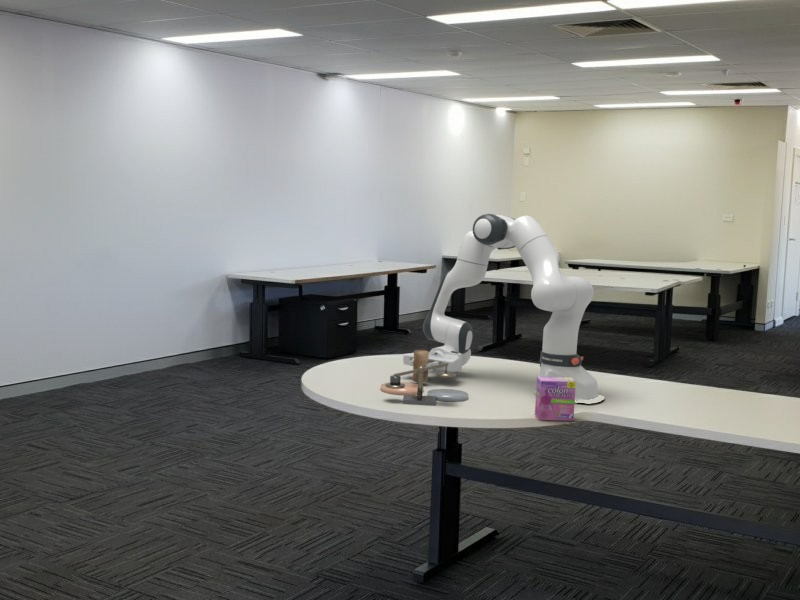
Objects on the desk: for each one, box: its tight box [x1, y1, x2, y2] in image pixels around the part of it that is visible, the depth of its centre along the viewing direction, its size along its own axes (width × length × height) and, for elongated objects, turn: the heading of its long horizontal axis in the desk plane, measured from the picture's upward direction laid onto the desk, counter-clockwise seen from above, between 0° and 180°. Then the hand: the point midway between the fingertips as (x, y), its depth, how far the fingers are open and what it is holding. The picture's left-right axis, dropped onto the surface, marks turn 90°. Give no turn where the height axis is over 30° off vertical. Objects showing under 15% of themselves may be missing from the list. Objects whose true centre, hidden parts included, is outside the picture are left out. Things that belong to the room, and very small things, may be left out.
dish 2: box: [426, 388, 469, 403], centre depth 266 cm, size 13×13×1 cm
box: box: [534, 376, 576, 422], centre depth 243 cm, size 10×6×12 cm, turn 92°
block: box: [412, 349, 430, 383], centre depth 282 cm, size 5×5×10 cm
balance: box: [385, 363, 457, 406], centre depth 257 cm, size 21×7×13 cm, turn 87°
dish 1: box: [380, 381, 425, 396], centre depth 273 cm, size 14×14×1 cm
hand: (419, 364), depth 282 cm, fingers closed on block, 5 cm apart
